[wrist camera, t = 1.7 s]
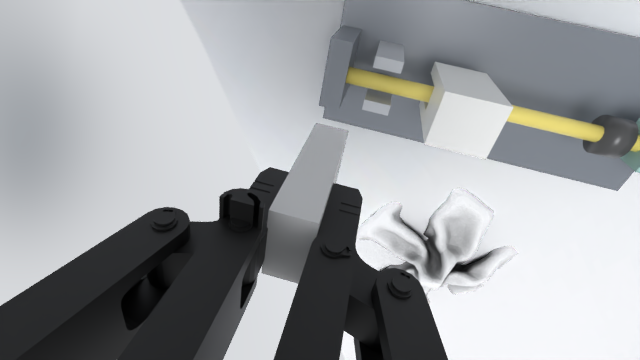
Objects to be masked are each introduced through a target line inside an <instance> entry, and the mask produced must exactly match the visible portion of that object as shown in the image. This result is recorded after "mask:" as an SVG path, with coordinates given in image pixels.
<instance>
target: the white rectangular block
mask: <svg viewBox="0 0 640 360" xmlns="http://www.w3.org/2000/svg"><path fill="white" fill-rule="evenodd" d="M431 76H432V80H433V83H434V89H433V92H432V95H431V97H430V100H429V103H428V102H424V101H420V104H419V108H420V116H421V123H422V131H423V139H424V144H425V145H429V146H433V147H437V148H441V149H445V150H449V151H453V152H457V153H461V154H465V155H469V156H473V157H477V158H481V159H485V160H486V158H487V156H488V155H489V153H490V151H491V149H492V147H493V145H494V143H495V141H496V140H497V138H498V136H499V134H500V132H501V130H502V128H503V126H504V125H505V123H506V121H507V119H508V117H509V115H510V113H511V111H512V110H513V108H514V107H513V106H512V105H511V103H510V102H509V101H508V100H507V98H506V97H505V96H504V95H503V93H502V92H501V91H500V90H499V88H498V87H497V86H496V85H495V83H494V82H493V81H492V80H491V78H490V77H489V76H488V74H487V73H483V72H478V71H474V70H469V69H465V68H461V67H456V66H452V65H448V64H443V63H439V62H435V63H434V65H433V68H432V71H431Z"/></svg>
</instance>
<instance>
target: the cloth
mask: <svg viewBox="0 0 640 360" xmlns="http://www.w3.org/2000/svg"><path fill="white" fill-rule="evenodd" d="M401 209H402V205H401V203H398V202H390V203H387V204H386V205H384V206H382V207H381V208H380V209H379V210H377V211H376V213H375V214H374V215H373V216H371V217H369V218H368V219H367V220H366V221H365V222H364V223H362V224H361V225H360V226H359V227H358V230H357V236H356V238H357V239H360V240H372V241H375V242H376V243H378V244H380V245H381V246H383V247H384V248H386V249H387V250H388V251H390V252H391V253H392V254H393V255H395V256H397V257H398V258H400V259H402V260H404V261H406V262H405V263H403V264H401V265H390V266H388V267H387V268H398V269H402V270H405V271H406V272H408V273H410V274H412V275H413V276H414V277H415V278H416V279H417V280H418V281H419V282H420V284H421V286H422V287H423V289H424V292H425V295H426V298H427V301H428V304H429V303H430V301H429V299H428V297H427V293H428V292H429V291H430V290H431V289H432V290H437V289H439V288H441V287H443V286H444V285H445V284H448V289H449V290H450V292H451V293H452V294H455V295H456V294H462V293H467V292H472V291H475V290H477V289H479V288H480V287H482V286H484V285H483V284H482V283H484V282H486V281H488V280H489V278H490V277H491V276H492V274H493V273H494V272H495V271H496V269H498V268H500V267H502V266H503V265H504V264H506V263H507V262H508V261H509V260H511V259H512V258H513V257H514V256H516V255H517V254H518V253H519V252H518V251H517V250H516V249H515V248H514V247H513V246H504V247H500V248H497V249H494V250H493V251H491V252H490V253H489V254H488V255H487V256H486V257H485V258H483V259H481V260H479V261H476V262H474V263H472V264H468V265H466V266H460V264H462V263H464V262H466V261H468V260H470V259H471V258H472V257H473V256H474V254H475V253H476V251H477V250H478V247H479V245H480V243H481V240H482V238H483V236H484V234H485V232H486V231H487V229H488V227H489V225H490V223H491V221H492V219H493V217H494V211H492V210H491V209H490V208H489V207H487V206H486V205H485V204H484V203H483V202H482V201H480V200H479V199H478V198H477V197H475V196H474V195H472V194H471V193H470V192H468V191H467V190H465V189H463V188H456V189H453V190H452V192H451V194H450V195H449V197H448V198H447V200H446V201H445V202H444V203H443V204H442V205H441V206H440V207H439V208H438V209H437V210H436V211H435V212H434V214H433V215H432V216H431V218H430V221H429V225H428V228H427V230H426V231H425V233H424V235H425V236H426V237H428V240H427V241H423V240H422V239H421V238H420V237H419V236H418V234H416V233H415V232H414V231H413V230H411V229H410V228H409V227H407V226H406V225H405V224H404V223H403V221H402V219H401V218H400V212H401ZM384 270H385V269H384Z"/></svg>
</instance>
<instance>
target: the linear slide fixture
mask: <svg viewBox="0 0 640 360" xmlns="http://www.w3.org/2000/svg"><path fill="white" fill-rule="evenodd" d="M435 62H439V63H443V64H448V65H452V66H456V67H461V68H465V69H469V70H474V71H478V72H483V73H487V74H488V76H489V77H490V78H491V80H492V81H493V82H494V83H495V85H496V86H497V87H498V88H499V90H500V91H501V92H502V93H503V95H504V96H505V97H506V98H507V100H508V101H509V102H510V103H511V105H512V106H513V107H514V108H513V110H512V111H511V113H510V115H509V117H508V119H507V121H506V123H505V125H504V126H503V128H502V130H501V132H500V134H499V136H498V138H497V140H496V141H495V143H494V145H493V147H492V149H491V151H490V153H489V155H488V156H487V159H491V160H495V161H499V162H503V163H507V164H511V165H515V166H519V167H523V168H527V169H531V170H535V171H539V172H543V173H547V174H551V175H555V176H559V177H564V178H568V179H572V180H576V181H580V182H584V183H588V184H592V185H596V186H600V187H604V188H608V189H612V190H616V191H618V190H619V189H620V187H621V186H622V185H623V184H624V183H625V182H626V180H627V179H628V178H629V177H630V176H631V174H632V173H633V172H634V171H635V172H638V173H640V38H638V37H633V36H629V35H624V34H619V33H615V32H610V31H605V30H601V29H596V28H591V27H587V26H582V25H577V24H573V23H568V22H563V21H559V20H554V19H549V18H545V17H540V16H536V15H531V14H526V13H522V12H517V11H512V10H508V9H503V8H498V7H494V6H489V5H484V4H480V3H475V2H470V1H466V0H345V5H344V11H343V16H342V21H341V26H340V29H339V30H338V31H337V32H336V33H335V34H334V35H333V36H332V37H331V41H330V46H329V52H328V58H327V63H326V69H325V74H324V80H323V85H322V91H321V96H320V102H319V106H323V107H325V110H324V115H323V118H325V119H330V120H334V121H338V122H342V123H346V124H350V125H354V126H358V127H362V128H366V129H370V130H374V131H378V132H382V133H386V134H390V135H394V136H398V137H402V138H406V139H410V140H414V141H418V142H422V143H424V139H423V131H422V123H421V116H420V108H419V104H420V101H424V102H428V103H429V100H430V97H431V95H432V92H433V89H434V83H433V80H432V76H431V71H432V68H433V65H434V63H435Z"/></svg>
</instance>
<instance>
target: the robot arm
mask: <svg viewBox="0 0 640 360" xmlns="http://www.w3.org/2000/svg"><path fill="white" fill-rule="evenodd" d="M347 135H348V131H346V130H342V129H338V128H334V127H330V126H326V125H322V124H318V123H316V124H315V126H314V128H313V130H312V132H311V133H310V135H309V137H308V139H307V141H306V143H305V144H304V146H303V148H302V150H301V152H300V154H299V155H298V157H297V159H296V161H295V163H294V165H293V166H292V168H291V170H290V172H286V171H282V170H278V169H274V168H271V167H270V168H268V169H266V170H264V171H262V172H261V173H260V174H259V175H258V177H257V178H256V180H255V182H253V184H252V185H251V187H250V188H249V189H241V188H240V189H232V190H229V191H226V192H224V194H222V195H221V196H220V211H219V212H220V213H219V217H220V218H219V220H218V221H213V222H190V220H189V217H188V215H187V214H186V213H185V212H184V211H183V210H180V209H177V208H169V207H164V208H159V209H155V210H153V211H150V212H148V213H147V214H145V215H143V216H142V217H140V218H138V219H137V220H135V221H134V222H132V223H131V224H129V225H127V226H126V227H124V228H123V229H121V230H119V231H118V232H116V233H115V234H113V235H112V236H110V237H108V238H107V239H105V240H104V241H102V242H100V243H99V244H98V245H96V246H94V247H93V248H91V249H90V250H88V251H87V252H85V253H83V254H82V255H80V256H79V257H77V258H75V259H74V260H72V261H71V262H69V263H67V264H66V265H64V266H63V267H61V268H60V269H58V270H57V271H55V272H53V273H52V274H50V275H48V276H47V277H45V278H44V279H42V280H41V281H39V282H38V283H36V284H34V285H33V286H31V287H30V288H28V289H26V290H25V291H24V292H22V293H20V294H19V295H17V296H15V297H14V298H12V299H11V300H9V301H7V302H6V303H4V304H3V305H1V306H0V360H223V358H224V356H225V354H226V351H227V349H228V347H229V345H230V343H231V340H232V338H233V336H234V334H235V331H236V329H237V327H238V325H239V323H240V320H241V318H242V316H243V314H244V312H245V309H246V307H247V305H248V303H249V300H250V298H251V296H252V294H253V291H254V289H255V287H256V283H257V275H258V273H259V270H260V268H261V266H262V273H263V274H267V275H270V276H274V277H277V278H281V279H284V280H288V281H291V282H295V283H298V287H297V290H296V293H295V296H294V299H293V302H292V305H291V308H290V311H289V314H288V318H287V320H286V323H285V327H284V330H283V333H282V336H281V339H280V342H279V345H278V348H277V351H276V355H275V357H274V360H339V357H340V351H341V345H342V338H343V332H344V331H345V332H347V333H348V334H350V335H352V336H353V337H354V345H355V353H356V360H448V358H447V355H446V352H445V350H444V347H443V344H442V341H441V338H440V335H439V332H438V329H437V327H436V324H435V321H434V318H433V315H432V312H431V309H430V306H429V304H428V301H427V298H426V295H425V292H424V289H423V287H422V286H421V284H420V282H419V281H418V280H417V279H416V278H415V277H414V276H413V275H412V274H410V273H408V272H406V271H405V270H402V269H398V268H386V269H385V270H383V271H381V272H379V271H377V270H376V269H374V268H372V267H371V266H369V265H368V264H366V263H365V262H364V261H363V260H362V259H361V258H360V257H359V255H358V254H357V251H356V248H355V243H356V236H357V230H358V224H359V218H360V212H361V205H362V196H361V194H360V192H359V190H358V189H355V188H351V187H347V186H343V185H339V184H336V180H337V176H338V172H339V168H340V164H341V160H342V156H343V152H344V148H345V144H346V140H347Z"/></svg>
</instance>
